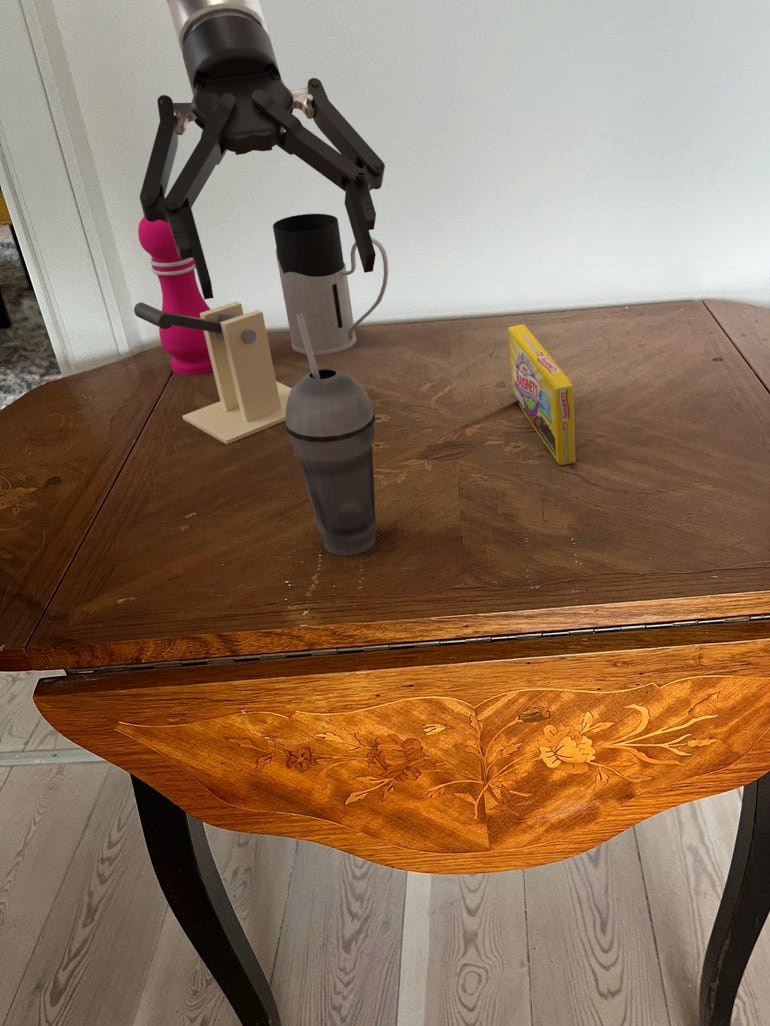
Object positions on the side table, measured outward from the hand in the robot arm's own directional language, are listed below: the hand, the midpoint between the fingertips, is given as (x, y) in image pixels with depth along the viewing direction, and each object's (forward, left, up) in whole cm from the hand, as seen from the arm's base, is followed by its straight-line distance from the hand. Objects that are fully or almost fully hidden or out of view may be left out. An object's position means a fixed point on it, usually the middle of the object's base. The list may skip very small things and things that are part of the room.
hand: (290, 277), depth 78 cm
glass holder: (-19, +29, -20) cm, 40 cm away
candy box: (+13, +19, -20) cm, 31 cm away
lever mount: (-17, +9, -20) cm, 28 cm away
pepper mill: (-32, +17, -20) cm, 41 cm away
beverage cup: (+7, -7, -20) cm, 22 cm away
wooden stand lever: (-18, +5, -9) cm, 21 cm away
